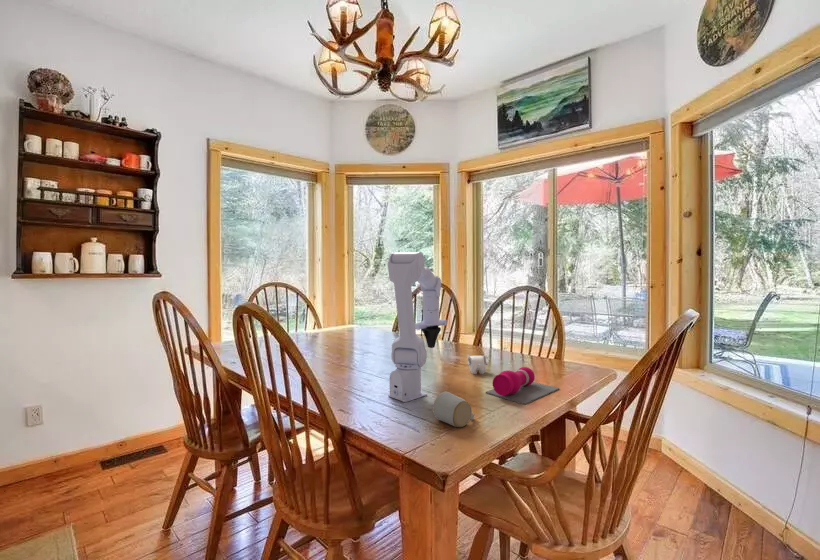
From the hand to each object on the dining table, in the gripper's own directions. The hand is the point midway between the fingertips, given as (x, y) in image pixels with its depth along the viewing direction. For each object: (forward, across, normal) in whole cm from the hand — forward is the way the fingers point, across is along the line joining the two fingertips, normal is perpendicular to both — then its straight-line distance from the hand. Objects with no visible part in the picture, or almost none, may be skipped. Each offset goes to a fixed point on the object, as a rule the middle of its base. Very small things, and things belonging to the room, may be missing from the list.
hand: (431, 347), depth 146 cm
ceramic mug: (+11, +25, +33) cm, 43 cm away
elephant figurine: (+11, -16, +8) cm, 21 cm away
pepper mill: (+6, +3, +32) cm, 32 cm away
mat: (+10, -8, +32) cm, 35 cm away
